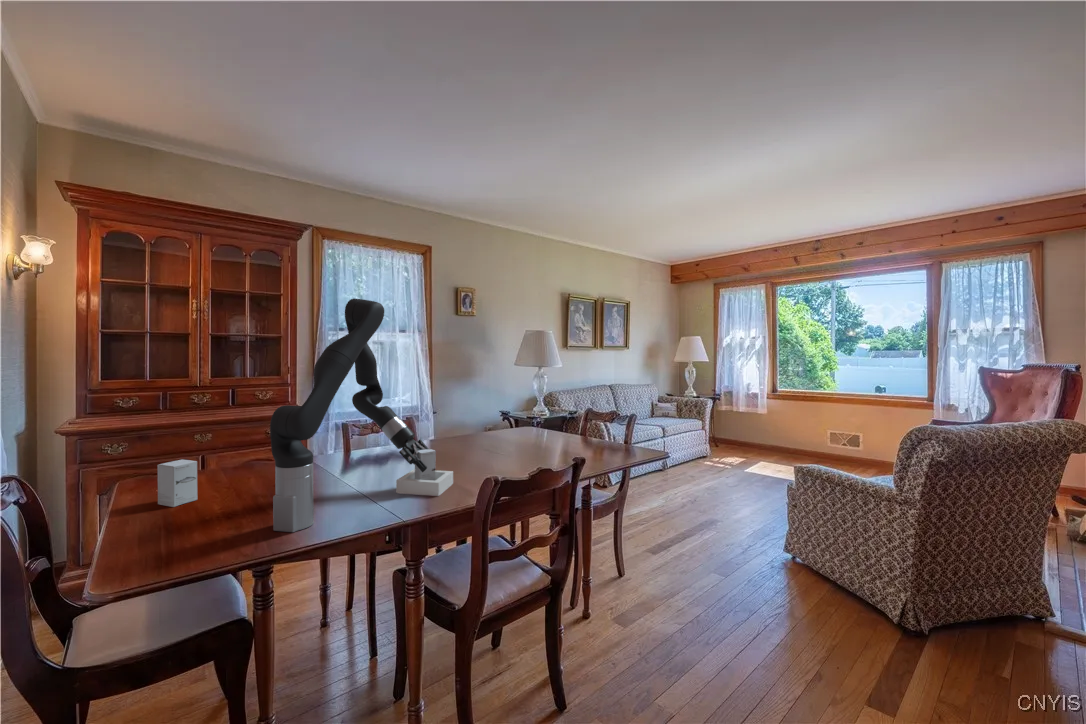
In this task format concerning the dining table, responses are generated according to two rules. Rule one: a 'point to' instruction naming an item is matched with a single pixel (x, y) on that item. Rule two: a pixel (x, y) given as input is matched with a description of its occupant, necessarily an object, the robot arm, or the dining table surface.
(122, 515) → the dining table surface
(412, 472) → the well holder
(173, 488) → the supplement box
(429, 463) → the skincare box
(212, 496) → the dining table surface
